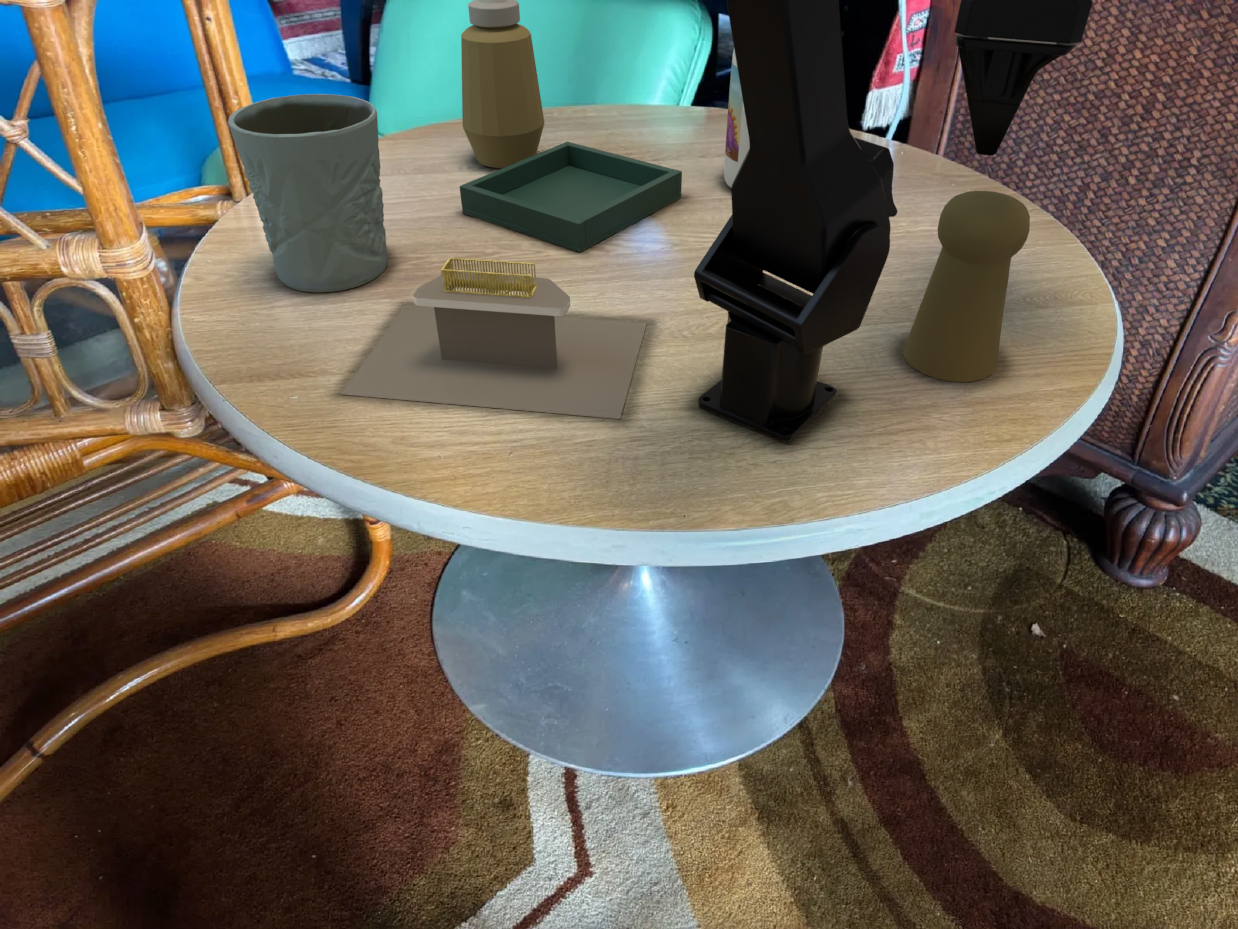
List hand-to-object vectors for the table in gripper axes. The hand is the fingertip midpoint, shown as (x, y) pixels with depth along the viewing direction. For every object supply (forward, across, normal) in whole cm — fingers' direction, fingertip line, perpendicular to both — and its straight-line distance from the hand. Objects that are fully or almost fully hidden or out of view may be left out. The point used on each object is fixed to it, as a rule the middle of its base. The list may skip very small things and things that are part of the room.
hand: (989, 131), depth 57 cm
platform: (+13, -17, +27) cm, 35 cm away
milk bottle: (+13, +20, +18) cm, 30 cm away
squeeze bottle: (+13, +17, +44) cm, 49 cm away
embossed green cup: (+13, -9, +46) cm, 49 cm away
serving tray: (+13, +9, +33) cm, 37 cm away
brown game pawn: (+13, -6, -1) cm, 15 cm away
